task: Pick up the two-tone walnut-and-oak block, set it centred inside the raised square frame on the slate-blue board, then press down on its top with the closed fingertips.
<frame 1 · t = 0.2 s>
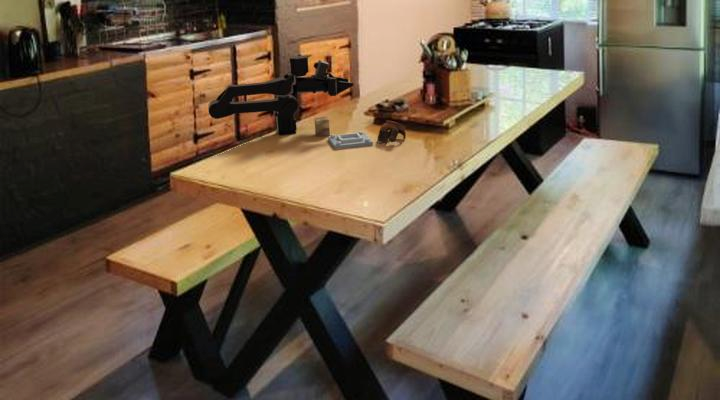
hand: (350, 82, 278), 16 cm above the table, tool horizontal, fingers open, 9 cm apart
board: (350, 142, 261), on the table
pottery mug: (392, 142, 260), on the table
block: (322, 134, 273), on the table
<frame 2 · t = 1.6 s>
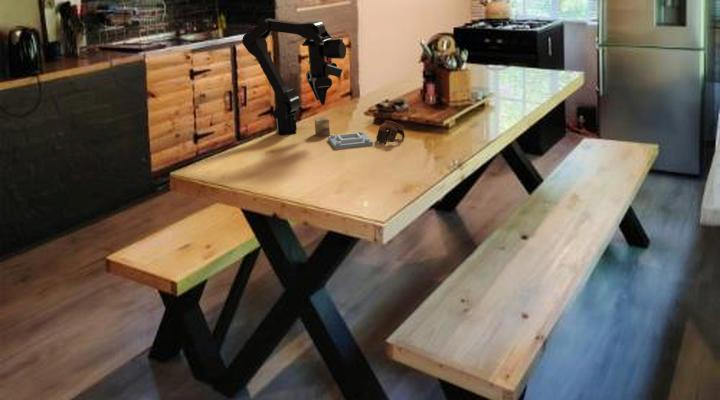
hand: (320, 102, 269), 12 cm above the table, tool pointing down, fingers open, 9 cm apart
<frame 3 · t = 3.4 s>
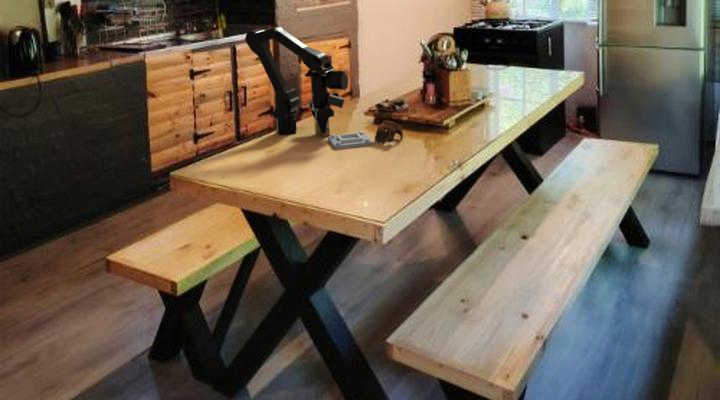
hand: (322, 131, 273), 1 cm above the table, tool pointing down, fingers closed on block, 4 cm apart
block: (322, 134, 273), on the table, touching gripper
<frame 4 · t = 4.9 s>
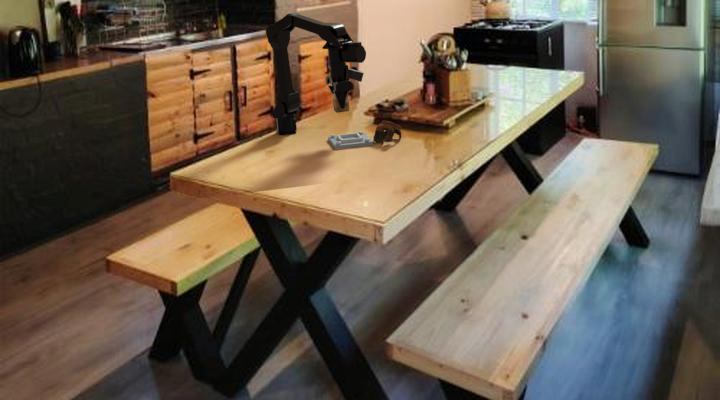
hand: (341, 107, 260), 12 cm above the table, tool pointing down, fingers closed on block, 4 cm apart
block: (341, 110, 261), point 11 cm above the table, touching gripper
when the fingers open (4 cm above the table, at t = 6.8 s): block drops 2 cm, resting on board.
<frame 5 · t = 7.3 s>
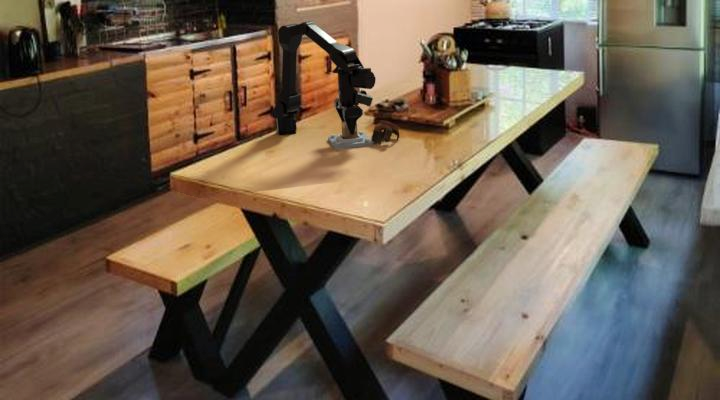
hand: (349, 131, 260), 4 cm above the table, tool pointing down, fingers open, 9 cm apart
block: (350, 139, 261), point 1 cm above the table, touching board
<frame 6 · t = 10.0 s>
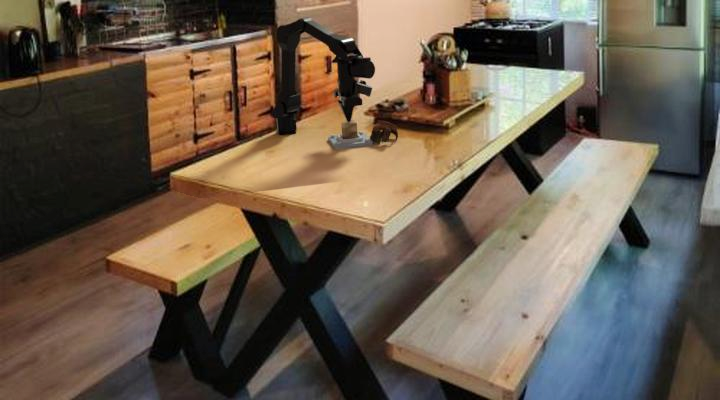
hand: (348, 121, 259), 7 cm above the table, tool pointing down, fingers closed
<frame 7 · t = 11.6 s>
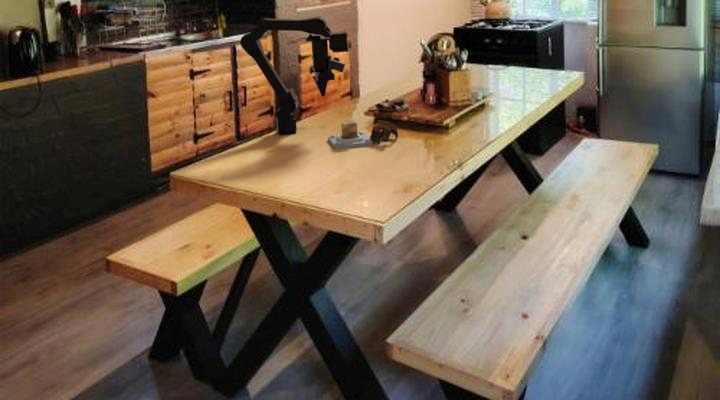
hand: (323, 96, 274), 13 cm above the table, tool pointing down, fingers closed
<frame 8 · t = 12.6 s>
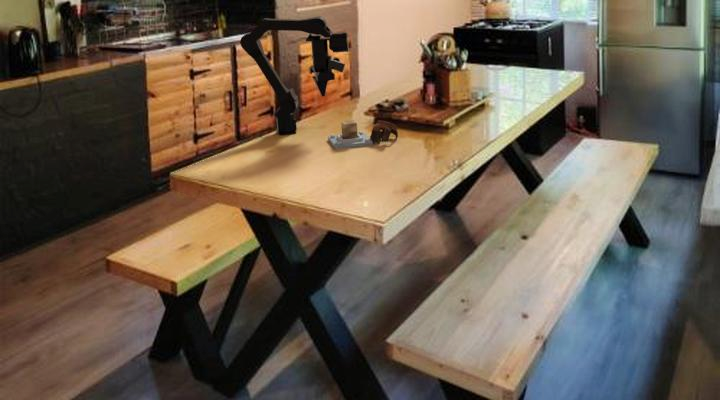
hand: (323, 96, 274), 13 cm above the table, tool pointing down, fingers closed
at the end: block 0.1 cm off-centre on the board, point 1.2 cm above the board's base; block tilted 0°; the gripper is holding nothing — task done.
